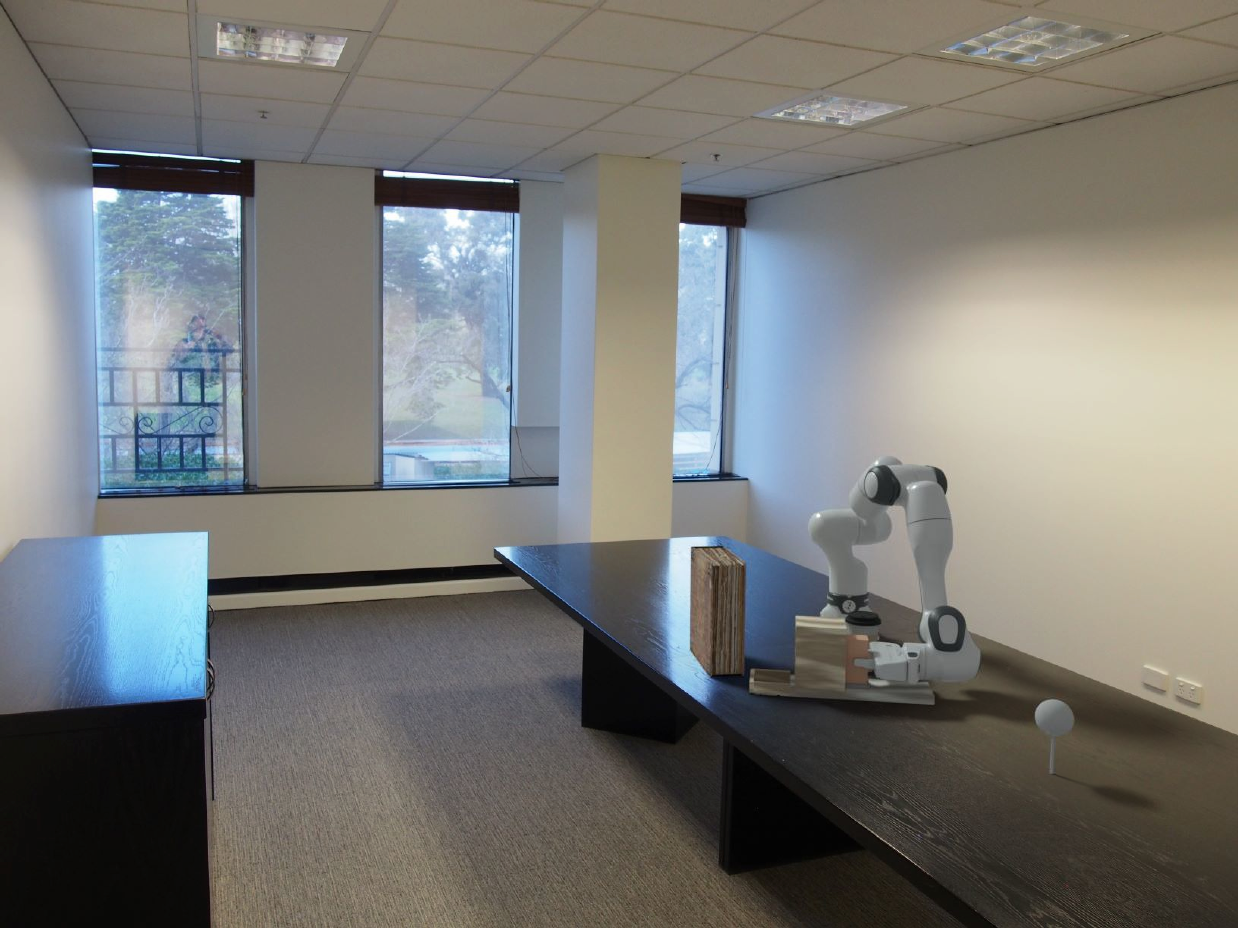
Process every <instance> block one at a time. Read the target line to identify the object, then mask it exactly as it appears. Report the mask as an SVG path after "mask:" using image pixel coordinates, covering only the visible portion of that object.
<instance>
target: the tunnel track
mask: <svg viewBox="0 0 1238 928" xmlns="http://www.w3.org/2000/svg"><path fill="white" fill-rule="evenodd" d="M794 628H795V629H794V631H795V633H794V666H793V667H794V668H793V669H794V671H793V674H791V670H781V669H767V668H765V669H762V668H761V669H760V668H751V669H750V673H749V674H750V675H749V684H748V685H749V687H748V690H749V691H748V693H755V694H754V695H760V694H761V695H762V696H777V695H780V696H781V697H795V698H796V697H797V698H812V699H813V698H814V699H828V700H829V699H830V700H831V699H832V700H845V701H846V700H847V701H849V700H850V701H863V702H864V701H866V702H868V701H869V702H881V703H897V704H911V705H912V704H916V705H918V704H919V705H935V697H936V696H935V694H934V692H933V690H932V688H931V686H930V685H931V684H930V683H929V682H927V681H918V682H917V683H916V684H908V683H907V682H906V681H891V680H884V679H880V678H877V679H876V678H873V679H872V678H868V681H869V685H870V687H869V689H856V688H845V670H846V636H847V628H846V624H845V620H844V618H835V617H820V616H813V615H812V616H810V615H809V616H808V615H795V627H794ZM761 695H760V696H761ZM780 696H779V697H780Z"/></svg>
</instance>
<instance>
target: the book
mask: <svg viewBox="0 0 1238 928" xmlns="http://www.w3.org/2000/svg"><path fill="white" fill-rule="evenodd" d="M689 587H690V588H689V589H690V591H689V592H690V596H689V597H690V599H689V600H690V605H689V608H690V609H689V610H690V611H689V613H690V614H689V615H690V616H689V651H690V652H691V653H692V654H693V656H694V658H695V659H696V660H697V661H698V664H699V665H700V666H701V667H702V669H703V671H705V673H706V674H707V675H708V677H709V676H710V677H711V678H712V676H719V675H723V676H724V675H741V674H742V675H741V676H745V657H746V656H745V655H746V654H745V653H746V652H745V648H746V602H747V601H746V600H747V599H746V598H747V596H746V595H747V594H746V592H747V563H746V561H744V560H743V559H742V558H740V557H739V556H738V555H736V554H735V553H733V552H732V551H730V550H729V549H728V548H727V547H726V546H724V545H712V546H711V545H701V546H698V545H697V546H691V547H690V586H689ZM710 677H709V678H710Z"/></svg>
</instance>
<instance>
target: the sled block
mask: <svg viewBox="0 0 1238 928" xmlns="http://www.w3.org/2000/svg"><path fill="white" fill-rule="evenodd" d="M868 644H869V640H868V637H867V635H849V634H847V636H846V670H845V688H856V689H869V687H870V685H869V681H868V679H869V678H868V676H869V675H868V674H869V672H868V668H865V667H862V666H855V665H854V658H855V657H857V658H862V659H868Z"/></svg>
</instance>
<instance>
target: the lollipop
mask: <svg viewBox="0 0 1238 928" xmlns="http://www.w3.org/2000/svg"><path fill="white" fill-rule="evenodd" d="M1034 720H1035V723H1036V725H1037V727H1038V728H1039V730H1040V731H1042V732H1043V733H1044V734H1046V735H1048V736H1050V737H1051V740H1050V742H1051V743H1050V759H1049V774H1050V775H1054V769H1055V767H1054V764H1055V752H1056V751H1055V750H1056V749H1055V748H1056V737H1062V736H1065V735H1066V734H1068V733H1070V731H1072V730H1073V729H1072V728H1073V727H1074V724H1075V716H1074V713H1073V711H1072V709H1071V708H1070V706H1069V705H1068V704H1067V703H1065V702H1063V701H1061V700H1059V699H1047V700H1043V701H1042V702H1041V703H1040V704H1039V705H1038V706H1037V707H1036V709H1035V712H1034Z"/></svg>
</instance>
